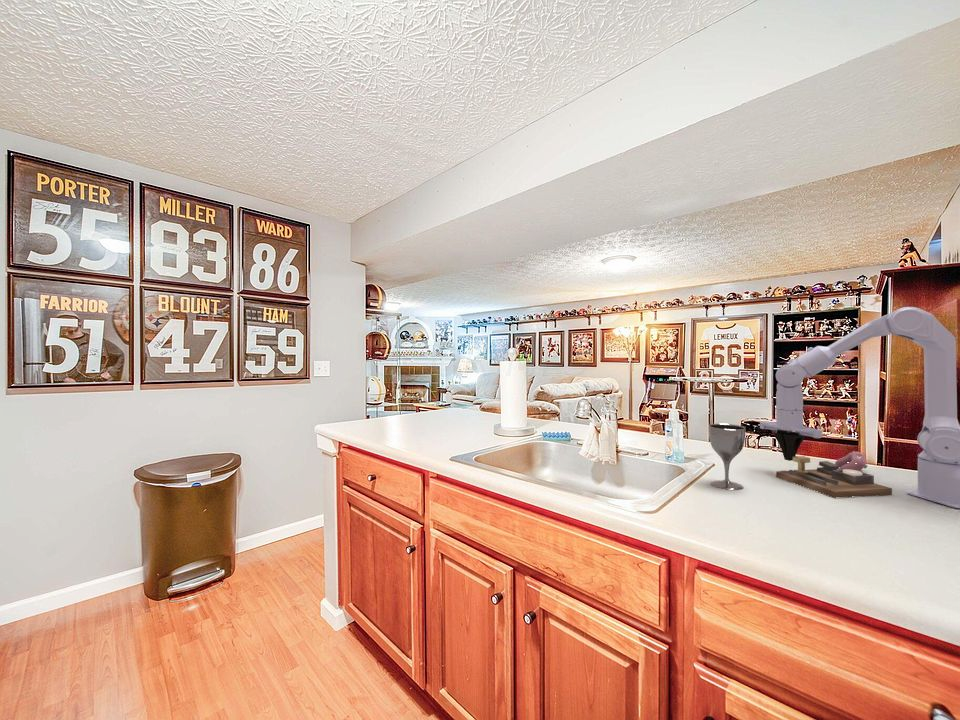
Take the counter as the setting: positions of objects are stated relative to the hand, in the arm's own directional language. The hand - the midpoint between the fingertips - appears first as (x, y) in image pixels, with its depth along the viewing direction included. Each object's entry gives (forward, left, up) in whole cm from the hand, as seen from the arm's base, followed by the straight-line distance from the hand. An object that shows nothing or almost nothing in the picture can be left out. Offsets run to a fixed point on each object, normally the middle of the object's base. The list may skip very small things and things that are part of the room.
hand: (789, 459), depth 109 cm
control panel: (-8, -4, -5) cm, 10 cm away
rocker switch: (-3, -8, -1) cm, 9 cm away
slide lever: (-4, 0, -3) cm, 5 cm away
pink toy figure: (+1, -20, -5) cm, 21 cm away
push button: (-10, -8, -3) cm, 13 cm away
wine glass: (-4, +21, -5) cm, 22 cm away
